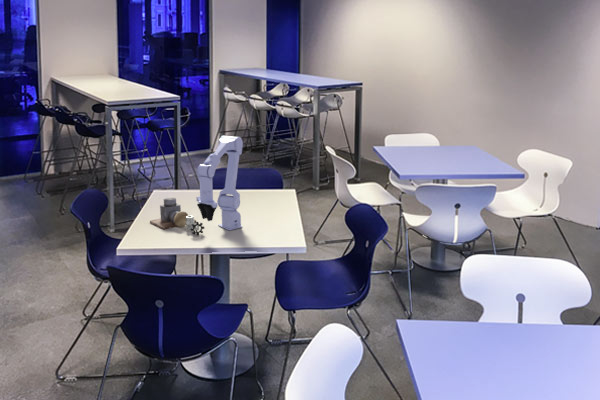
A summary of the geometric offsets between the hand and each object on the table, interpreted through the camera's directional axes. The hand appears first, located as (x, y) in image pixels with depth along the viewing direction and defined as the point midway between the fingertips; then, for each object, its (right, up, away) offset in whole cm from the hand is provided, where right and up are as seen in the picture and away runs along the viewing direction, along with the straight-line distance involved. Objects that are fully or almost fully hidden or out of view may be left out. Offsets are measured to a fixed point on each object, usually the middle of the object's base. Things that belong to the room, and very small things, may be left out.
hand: (207, 219), depth 285 cm
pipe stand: (-21, -2, +26) cm, 33 cm away
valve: (-8, -6, +13) cm, 17 cm away
